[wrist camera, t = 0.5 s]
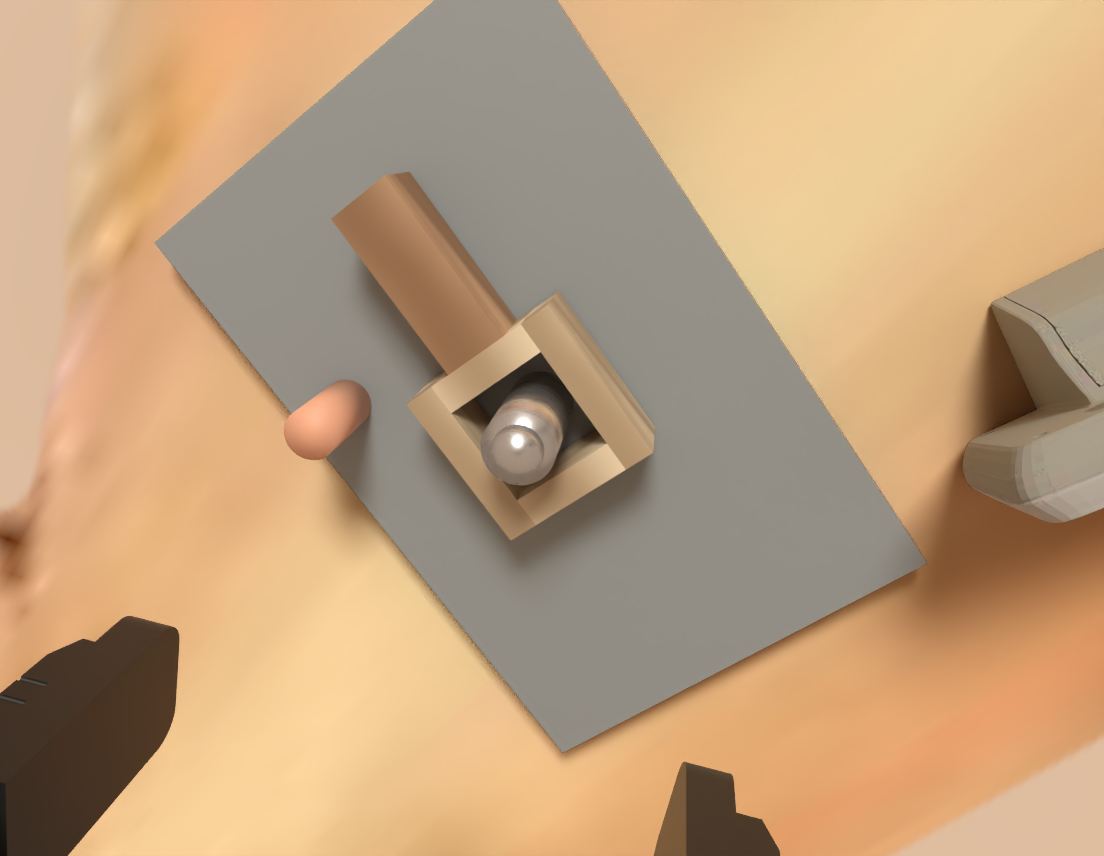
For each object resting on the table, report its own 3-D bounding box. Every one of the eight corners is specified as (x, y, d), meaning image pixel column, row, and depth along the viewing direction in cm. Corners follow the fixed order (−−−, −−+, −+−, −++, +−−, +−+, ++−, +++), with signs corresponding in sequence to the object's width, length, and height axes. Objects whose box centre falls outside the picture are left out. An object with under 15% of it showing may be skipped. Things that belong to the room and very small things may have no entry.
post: (548, 358, 34) (522, 405, 29) (586, 411, 35) (568, 468, 29) (495, 394, 35) (460, 447, 29) (534, 445, 36) (506, 507, 30)
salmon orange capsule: (350, 370, 36) (312, 398, 32) (381, 409, 36) (347, 441, 32) (314, 396, 36) (273, 427, 32) (345, 435, 37) (307, 469, 33)
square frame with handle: (451, 138, 32) (429, 138, 29) (655, 426, 35) (653, 452, 32) (321, 242, 34) (289, 252, 31) (523, 509, 36) (510, 540, 34)
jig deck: (519, -58, 31) (511, -67, 30) (917, 546, 37) (927, 563, 35) (174, 238, 36) (154, 242, 35) (566, 731, 42) (562, 752, 40)
